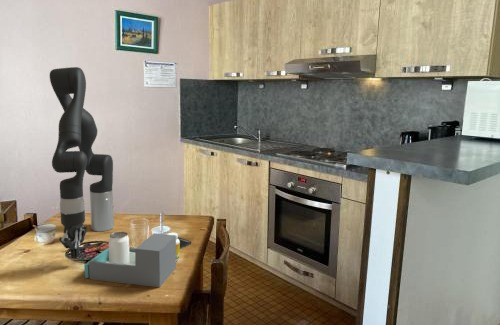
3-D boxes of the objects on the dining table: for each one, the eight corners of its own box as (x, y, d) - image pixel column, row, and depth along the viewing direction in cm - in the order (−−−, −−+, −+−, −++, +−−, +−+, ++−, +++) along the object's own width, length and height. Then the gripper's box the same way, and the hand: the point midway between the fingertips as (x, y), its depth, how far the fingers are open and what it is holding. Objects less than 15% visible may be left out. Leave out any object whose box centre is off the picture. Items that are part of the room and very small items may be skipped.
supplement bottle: (161, 259, 143) (161, 234, 142) (174, 255, 147) (173, 230, 146) (170, 263, 140) (170, 238, 138) (182, 259, 144) (182, 234, 142)
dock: (112, 261, 140) (111, 229, 138) (175, 268, 136) (175, 235, 134) (89, 279, 126) (88, 243, 124) (159, 287, 122) (159, 251, 120)
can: (105, 268, 131) (104, 234, 129) (123, 262, 136) (122, 230, 134) (115, 274, 127) (114, 239, 125) (133, 268, 132) (132, 234, 130)
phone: (167, 233, 167) (192, 242, 159) (167, 236, 168) (192, 244, 159) (152, 238, 161) (178, 247, 152) (153, 241, 161) (178, 250, 153)
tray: (108, 260, 140) (107, 248, 140) (152, 264, 138) (152, 252, 137) (84, 277, 127) (84, 264, 126) (133, 283, 124) (133, 270, 123)
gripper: (74, 203, 139) (76, 249, 142) (49, 214, 126) (52, 264, 129) (93, 204, 138) (95, 251, 141) (70, 216, 125) (73, 266, 128)
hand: (75, 257), depth 135 cm, fingers closed
